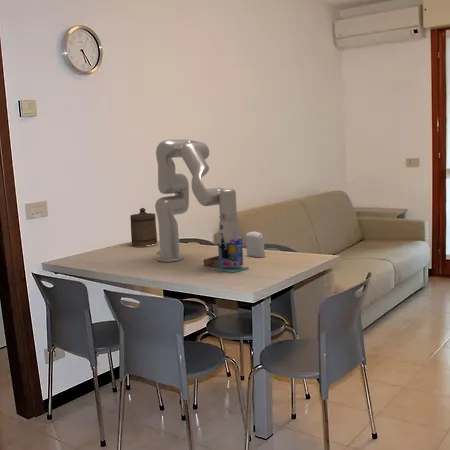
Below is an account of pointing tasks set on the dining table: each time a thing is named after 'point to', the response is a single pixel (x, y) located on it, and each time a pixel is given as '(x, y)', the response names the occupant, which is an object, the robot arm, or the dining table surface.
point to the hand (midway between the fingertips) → (230, 256)
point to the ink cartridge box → (232, 254)
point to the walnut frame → (212, 262)
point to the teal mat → (231, 269)
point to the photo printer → (255, 244)
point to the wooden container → (143, 228)
